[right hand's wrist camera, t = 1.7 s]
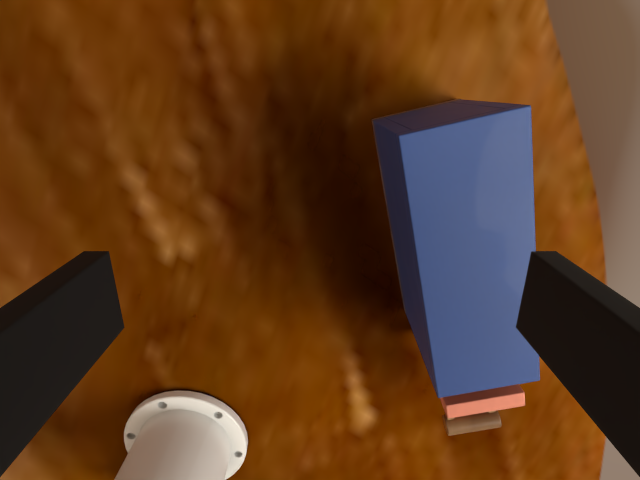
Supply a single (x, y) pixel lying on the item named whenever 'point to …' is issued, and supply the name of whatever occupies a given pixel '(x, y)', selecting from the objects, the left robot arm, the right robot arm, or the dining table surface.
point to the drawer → (479, 409)
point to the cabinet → (462, 236)
